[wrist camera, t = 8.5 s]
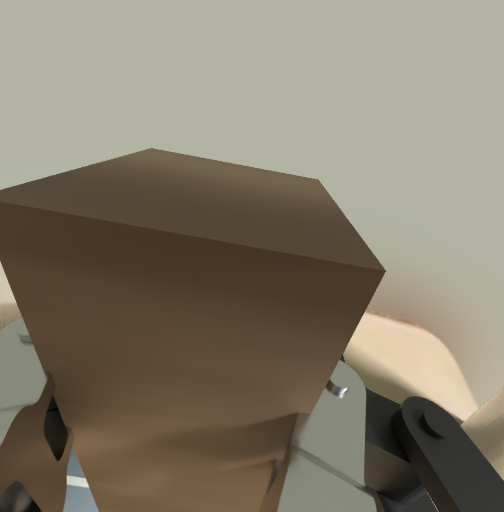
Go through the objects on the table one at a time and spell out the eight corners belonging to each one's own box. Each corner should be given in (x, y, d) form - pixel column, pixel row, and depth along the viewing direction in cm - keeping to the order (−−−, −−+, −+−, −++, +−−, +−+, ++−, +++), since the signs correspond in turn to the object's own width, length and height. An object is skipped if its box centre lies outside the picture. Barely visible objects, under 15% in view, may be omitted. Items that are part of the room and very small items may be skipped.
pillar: (158, 378, 13) (151, 148, 7) (254, 394, 13) (318, 179, 7) (100, 515, 8) (-25, 197, 3) (247, 536, 9) (386, 270, 3)
